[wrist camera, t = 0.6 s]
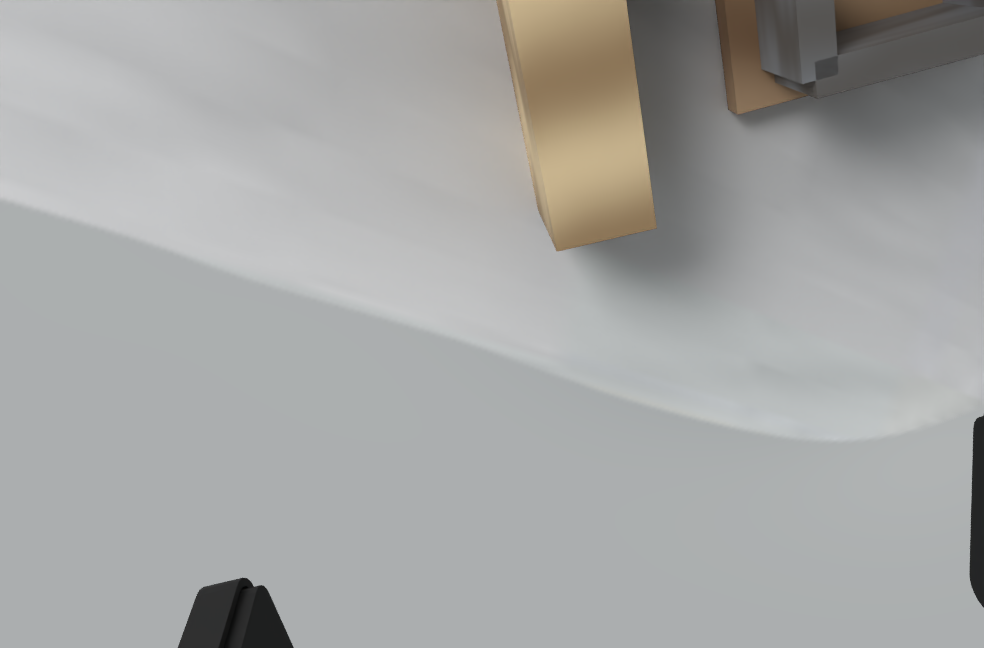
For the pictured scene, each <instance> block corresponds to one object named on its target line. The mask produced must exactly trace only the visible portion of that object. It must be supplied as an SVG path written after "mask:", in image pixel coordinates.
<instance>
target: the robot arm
mask: <svg viewBox="0 0 984 648" xmlns="http://www.w3.org/2000/svg"><path fill="white" fill-rule="evenodd" d="M973 429H974V431H973V466H972V504H971V540H970V541H971V542H970V581H971V585H972V588H973V591H974V593H975V595H976V597H977V599H978V601H979V602H980V603H981V605H982V606H983V607H984V416H982V417H979V418H977V419H976V421H975V422H974V428H973ZM178 648H293V645H292V643H291V641H290V639H289V636H288V634H287V632H286V630H285V628H284V625H283V623H282V621H281V619H280V616H279V614H278V612H277V610H276V608H275V605H274V603H273V601H272V599H271V596H270V594H269V592H268V590H267V589H266V588H265V587H264V586H262V585H261V586H256V587H254V586H253V584H252V583H251V581H250V580H248V579H247V578H240V579H236V580H232V581H227V582H223V583H219V584H214V585H211V586H206V587H203V588H202V589H201V590H199V592H198V594H197V596H196V599H195V602H194V604H193V608H192V610H191V613H190V615H189V618H188V621H187V624H186V627H185V630H184V632H183V635H182V638H181V640H180V643H179V646H178Z"/></svg>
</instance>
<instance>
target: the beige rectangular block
mask: <svg viewBox="0 0 984 648" xmlns="http://www.w3.org/2000/svg"><path fill="white" fill-rule="evenodd" d="M496 1H497V6H498V11H499V16H500V21H501V26H502V31H503V36H504V41H505V46H506V51H507V56H508V61H509V66H510V71H511V76H512V81H513V86H514V91H515V96H516V101H517V106H518V111H519V116H520V121H521V126H522V131H523V136H524V141H525V146H526V151H527V156H528V161H529V166H530V171H531V176H532V181H533V186H534V191H535V196H536V201H537V207H538V211H539V213H540V215H541V217H542V220H543V222H544V224H545V226H546V228H547V231H548V233H549V235H550V237H551V240H552V242H553V244H554V246H555V248H556V251H562V250H566V249H570V248H574V247H579V246H583V245H587V244H592V243H596V242H600V241H604V240H609V239H613V238H617V237H622V236H626V235H630V234H634V233H639V232H643V231H647V230H652V229H656V228H657V227H656V219H655V212H654V204H653V197H652V189H651V182H650V174H649V167H648V159H647V152H646V145H645V137H644V130H643V122H642V115H641V107H640V100H639V92H638V85H637V77H636V70H635V62H634V55H633V48H632V40H631V33H630V25H629V18H628V10H627V3H626V0H496Z"/></svg>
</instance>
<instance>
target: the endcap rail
mask: <svg viewBox="0 0 984 648" xmlns="http://www.w3.org/2000/svg"><path fill="white" fill-rule="evenodd" d="M715 3H716V11H717V19H718V28H719V36H720V44H721V52H722V61H723V69H724V77H725V85H726V94H727V102H728V110H730V111H732V112H734V113H736V114H737V115H738V114H742V113H746V112H749V111H753V110H757V109H760V108H764V107H768V106H772V105H775V104H779V103H783V102H786V101H790V100H794V99H798V98H801V97H805V96H812V97H814V98H817V99H818V98H822V97H825V96H829V95H833V94H837V93H840V92H844V91H848V90H852V89H855V88H859V87H863V86H866V85H870V84H874V83H878V82H881V81H885V80H889V79H892V78H896V77H900V76H904V75H907V74H911V73H915V72H918V71H922V70H926V69H930V68H933V67H937V66H941V65H944V64H948V63H952V62H956V61H959V60H963V59H967V58H970V57H974V56H978V55H982V54H984V0H715Z"/></svg>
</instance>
